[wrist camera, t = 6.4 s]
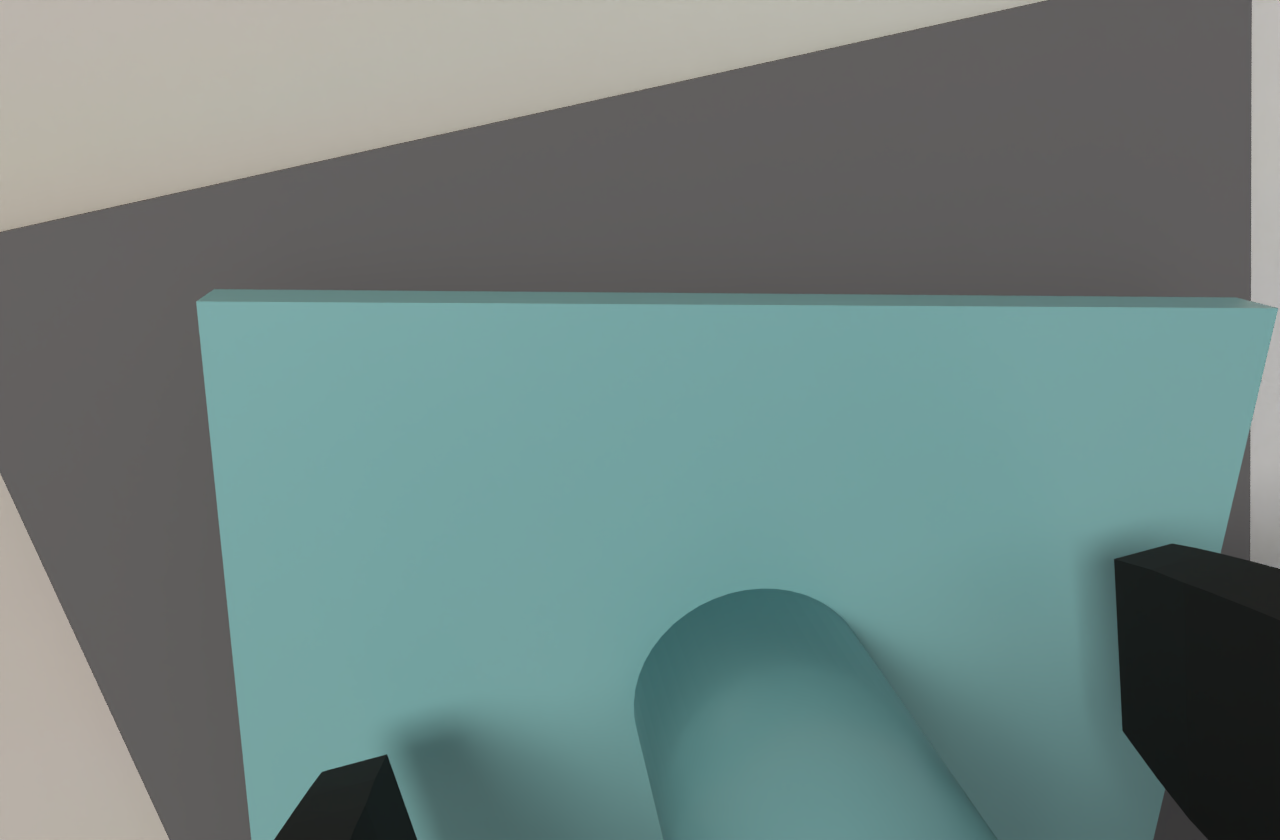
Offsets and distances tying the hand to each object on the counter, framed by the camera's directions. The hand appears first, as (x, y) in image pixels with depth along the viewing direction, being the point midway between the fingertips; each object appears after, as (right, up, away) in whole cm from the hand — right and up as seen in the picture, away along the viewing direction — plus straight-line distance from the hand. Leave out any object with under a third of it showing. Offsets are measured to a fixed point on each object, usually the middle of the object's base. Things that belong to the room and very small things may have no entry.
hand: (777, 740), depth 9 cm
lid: (0, 0, +2) cm, 2 cm away
